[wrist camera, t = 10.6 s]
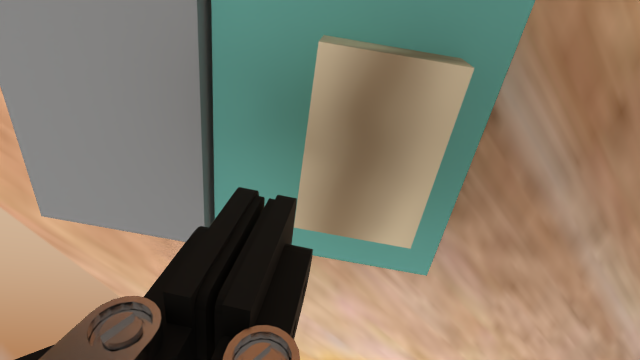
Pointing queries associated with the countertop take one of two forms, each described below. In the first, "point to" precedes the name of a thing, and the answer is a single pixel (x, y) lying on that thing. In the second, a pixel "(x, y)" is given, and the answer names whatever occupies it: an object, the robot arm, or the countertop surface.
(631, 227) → the countertop surface
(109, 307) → the robot arm
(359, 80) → the tile
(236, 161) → the mat
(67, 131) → the board
